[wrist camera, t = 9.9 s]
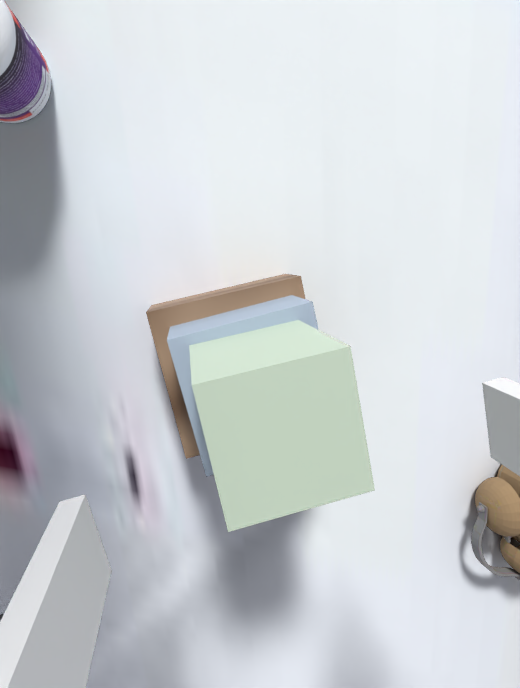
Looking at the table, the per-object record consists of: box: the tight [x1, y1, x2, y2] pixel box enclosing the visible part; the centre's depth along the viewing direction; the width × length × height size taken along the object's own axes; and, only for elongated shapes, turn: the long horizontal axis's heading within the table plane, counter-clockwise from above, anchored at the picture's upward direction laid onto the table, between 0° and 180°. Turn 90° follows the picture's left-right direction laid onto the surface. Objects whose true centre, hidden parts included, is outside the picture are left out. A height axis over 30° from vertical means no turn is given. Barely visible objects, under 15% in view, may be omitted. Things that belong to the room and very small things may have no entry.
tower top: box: [167, 295, 318, 477], centre depth 28 cm, size 8×8×5 cm
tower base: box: [146, 274, 305, 459], centre depth 33 cm, size 10×10×5 cm
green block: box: [189, 320, 375, 532], centre depth 21 cm, size 6×6×8 cm
